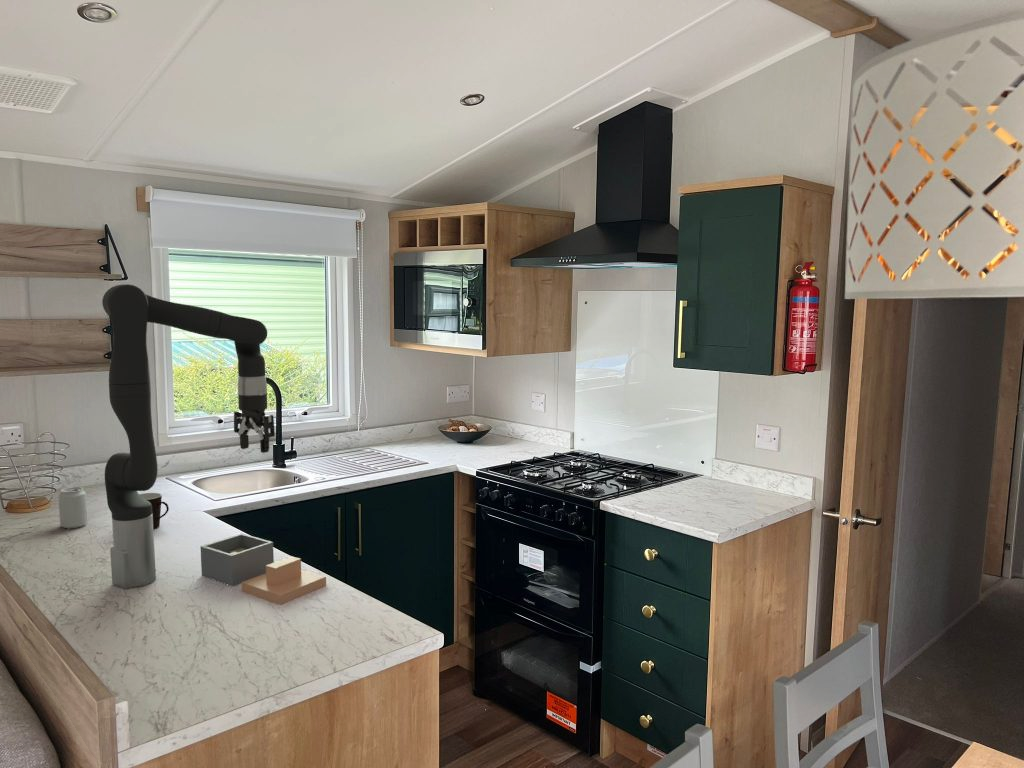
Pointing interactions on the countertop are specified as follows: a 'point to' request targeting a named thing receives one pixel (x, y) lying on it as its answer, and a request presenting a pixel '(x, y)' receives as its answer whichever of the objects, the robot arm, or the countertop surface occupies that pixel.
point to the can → (72, 507)
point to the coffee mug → (155, 506)
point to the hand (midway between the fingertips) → (254, 450)
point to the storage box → (236, 559)
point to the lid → (283, 581)
